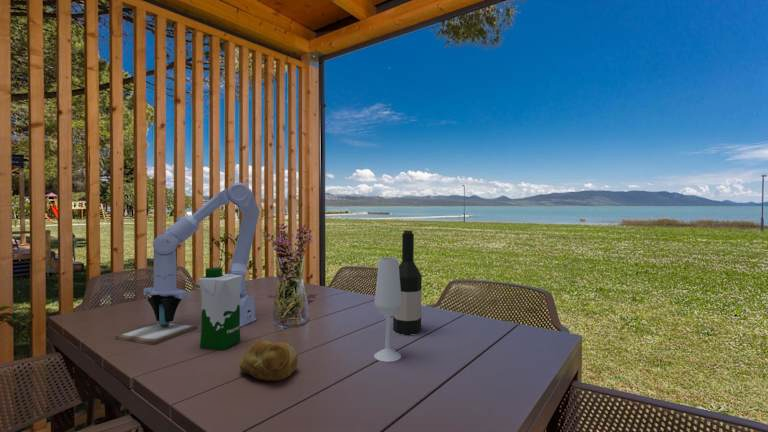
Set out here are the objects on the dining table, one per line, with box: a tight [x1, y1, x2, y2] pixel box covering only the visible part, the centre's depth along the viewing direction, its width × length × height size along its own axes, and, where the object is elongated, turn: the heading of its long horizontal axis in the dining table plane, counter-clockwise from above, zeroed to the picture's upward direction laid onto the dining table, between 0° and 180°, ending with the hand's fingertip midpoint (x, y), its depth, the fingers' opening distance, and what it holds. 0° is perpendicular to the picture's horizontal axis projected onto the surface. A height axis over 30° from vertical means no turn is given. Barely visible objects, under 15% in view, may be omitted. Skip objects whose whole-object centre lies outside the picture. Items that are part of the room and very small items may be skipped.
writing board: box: [114, 321, 198, 346], centre depth 103 cm, size 14×14×1 cm
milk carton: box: [198, 267, 242, 351], centre depth 95 cm, size 9×9×20 cm
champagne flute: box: [373, 256, 402, 363], centre depth 88 cm, size 7×7×24 cm
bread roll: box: [239, 340, 299, 382], centre depth 78 cm, size 13×10×8 cm
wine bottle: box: [392, 230, 423, 336], centre depth 107 cm, size 8×8×30 cm
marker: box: [158, 303, 171, 327], centre depth 106 cm, size 3×3×6 cm
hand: (164, 320), depth 106 cm, fingers closed on marker, 3 cm apart
